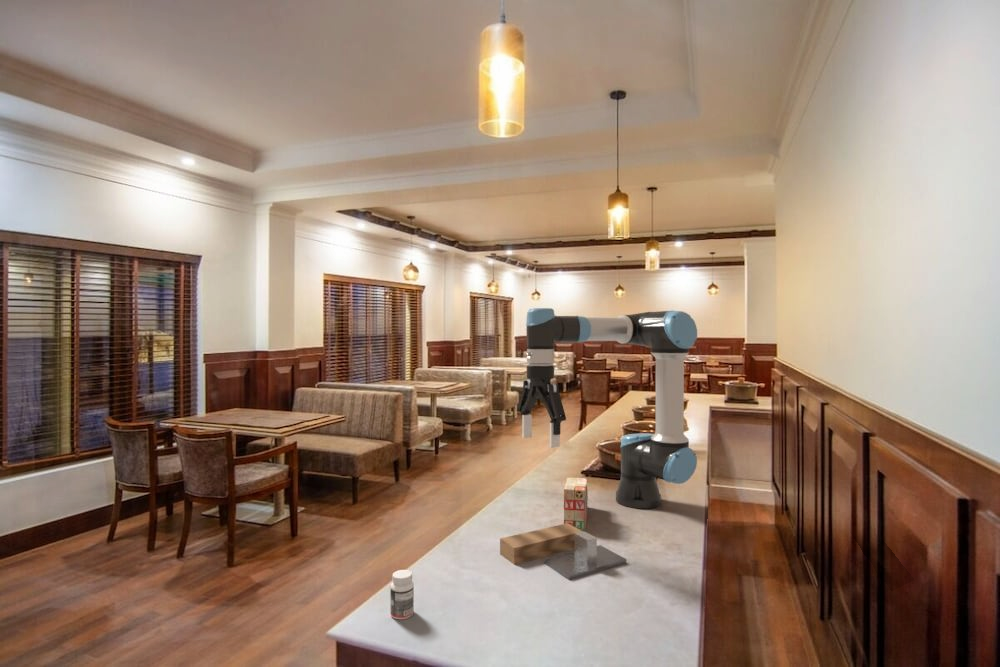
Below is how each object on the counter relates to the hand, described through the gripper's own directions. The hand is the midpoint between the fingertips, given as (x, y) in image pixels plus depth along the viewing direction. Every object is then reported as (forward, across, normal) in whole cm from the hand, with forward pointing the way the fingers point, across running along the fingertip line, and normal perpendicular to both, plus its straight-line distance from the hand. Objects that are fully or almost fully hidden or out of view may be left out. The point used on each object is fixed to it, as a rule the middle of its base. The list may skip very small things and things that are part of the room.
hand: (540, 442), depth 145 cm
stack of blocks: (+28, -11, +21) cm, 37 cm away
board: (+28, +4, -2) cm, 29 cm away
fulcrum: (+28, +16, +3) cm, 32 cm away
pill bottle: (+28, +16, -45) cm, 55 cm away
